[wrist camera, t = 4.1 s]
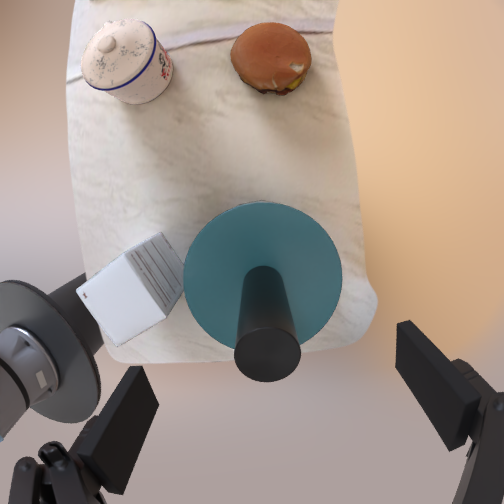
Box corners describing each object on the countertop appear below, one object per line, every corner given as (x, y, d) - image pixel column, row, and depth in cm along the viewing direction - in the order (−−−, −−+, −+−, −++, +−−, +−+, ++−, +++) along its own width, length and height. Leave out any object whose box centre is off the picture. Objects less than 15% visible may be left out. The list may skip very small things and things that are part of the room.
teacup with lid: (186, 83, 33) (160, 46, 22) (126, 119, 34) (81, 100, 23) (152, 22, 31) (122, -20, 20) (98, 57, 32) (55, 27, 21)
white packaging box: (151, 304, 40) (115, 349, 28) (121, 259, 39) (72, 289, 26) (194, 277, 39) (168, 319, 27) (162, 229, 38) (121, 251, 25)
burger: (248, 24, 31) (247, 7, 27) (316, 45, 32) (323, 30, 27) (221, 85, 34) (217, 73, 29) (293, 108, 34) (299, 98, 30)
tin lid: (206, 357, 30) (181, 450, 18) (169, 219, 27) (102, 250, 14) (345, 333, 30) (390, 417, 17) (327, 188, 27) (387, 195, 14)
